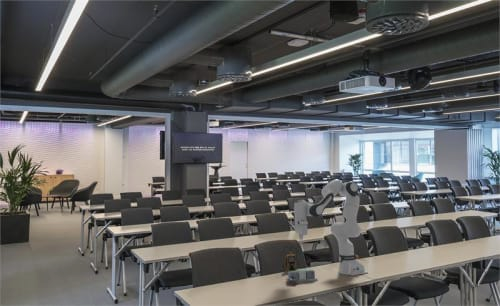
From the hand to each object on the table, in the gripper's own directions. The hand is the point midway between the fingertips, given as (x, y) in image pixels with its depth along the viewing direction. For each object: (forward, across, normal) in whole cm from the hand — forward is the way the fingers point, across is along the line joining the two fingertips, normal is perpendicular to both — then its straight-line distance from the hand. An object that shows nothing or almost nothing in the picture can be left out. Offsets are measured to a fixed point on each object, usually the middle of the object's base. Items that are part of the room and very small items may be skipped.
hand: (301, 239), depth 297 cm
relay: (+29, +13, -12) cm, 34 cm away
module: (+28, +6, -3) cm, 29 cm away
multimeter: (+29, -19, -2) cm, 35 cm away
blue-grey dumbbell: (+29, +6, -3) cm, 30 cm away
